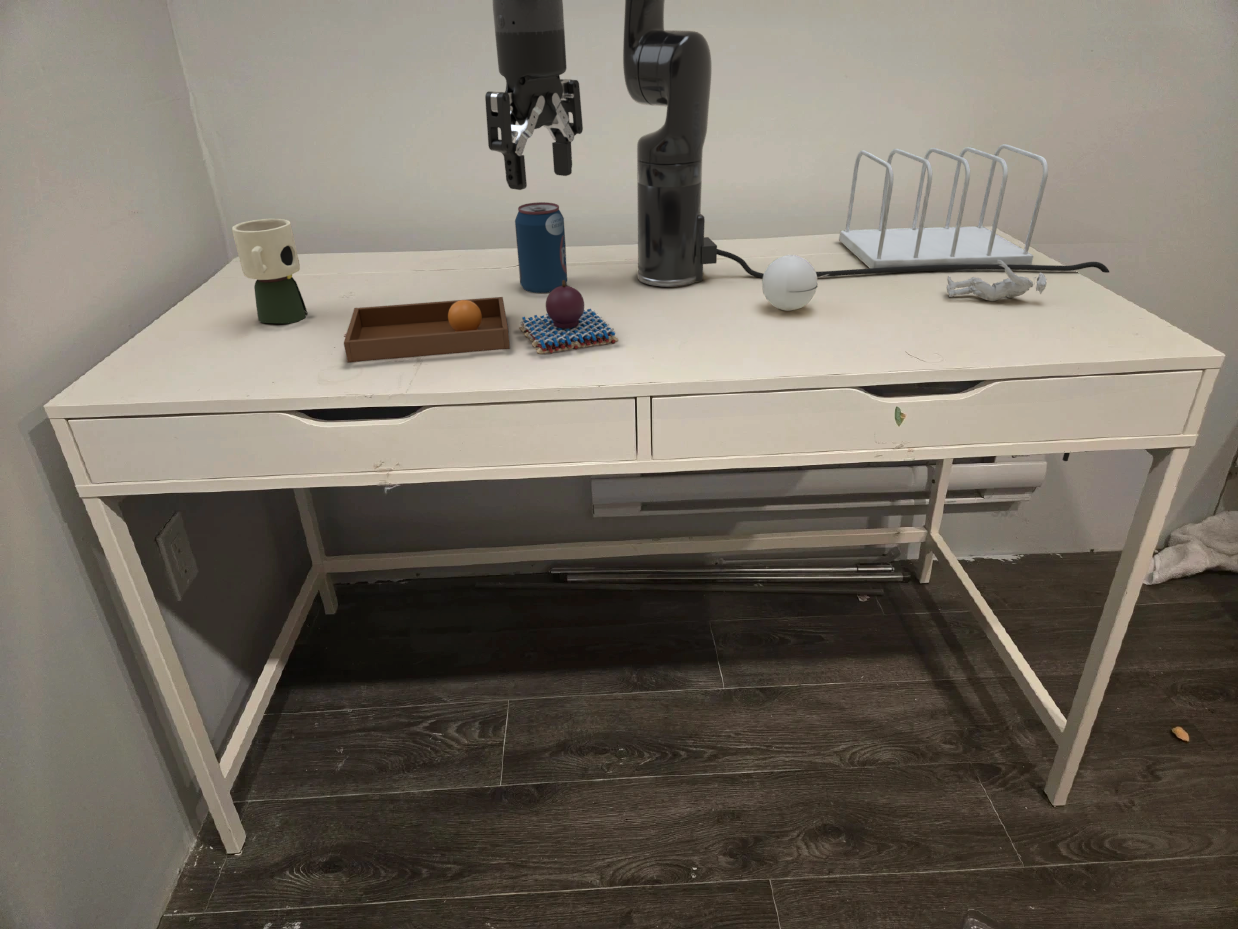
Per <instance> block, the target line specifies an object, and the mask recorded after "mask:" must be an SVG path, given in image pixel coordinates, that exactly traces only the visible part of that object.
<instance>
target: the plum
mask: <svg viewBox="0 0 1238 929" xmlns="http://www.w3.org/2000/svg"><path fill="white" fill-rule="evenodd" d="M545 310H546V314H548V315H549V317H550V318H551V319H552V320H553V325H554V326H555V327H558V328H572V327H575V326H577V325H578V324H579V319H580V317H581V316H582V314H583V312H584V310H585V300H584V296H583V295H582V294H581V292H580V291H579V290H578V289H577V288H575V287H573V286H570V285H567V283H565V280H563V281H562V286H559V287H557V288H555V289H553V290H552V291H551V292H550V293H548V295H547V297H546V300H545Z"/></svg>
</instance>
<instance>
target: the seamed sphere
mask: <svg viewBox="0 0 1238 929" xmlns="http://www.w3.org/2000/svg"><path fill="white" fill-rule="evenodd" d="M816 272H817V271H816V270H815V266H814V265H812V263H810V261H808V259H806V258H804V257H802V256H800V255H797V254H785V255H782V256H779V257H777V258H775V259H774V260H773V261H772V262H771V263H769V264H768V265H767V267H766V269H765V270H764V272H763V273H764V275H763V278H761V285H762V286H761V287H762V293H763V296H764V298H765V299H766V300H767V301H768V302H769V303H770V305H771V306H772V307H774V308H776V309H779V310H781V311H784V312H785V311H786V312H791V311H795V310H799V309H801V308H804V307H805V306H806V305H807V304H809V303H810V302H811V300H812V299H813V297H814V296H815V294H816V292H817V288H818V287H819V286H818V285H819V284H818V278H823V277H822V276H820V277H817V274H816ZM827 275H829V274H827ZM824 276H826V275H824Z"/></svg>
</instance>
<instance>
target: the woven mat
mask: <svg viewBox="0 0 1238 929" xmlns="http://www.w3.org/2000/svg"><path fill="white" fill-rule="evenodd" d="M521 319H522V320H521V321H520V322H519V325H520V326H522V327H519V328H518V329H519V330H520V331H521V332H522V335H524V337H526V338H527V339H529V340H530V342H531V346H532V347H534V351H536V353H537V354H539V355H541V354H542V355H543V354H552V353H555V352H562V351H569V350H573V349H574V350H577V349H580V348H588V347H592V346H594V347H595V346H599V345H606V344H615V343H617V342H618V341H619V338H618V337H617V336H616V332H615V331H614V330H615V329H614V328H612V327H609V326H610V324H609V323H607V321H606V320H604V319H603V317H602V316H599V315H598V313H597V312H596V311H595V310H594V309H593V310H592V308H588V309H586V310H585V309H584V312H583V314H582V316H581V317H580V319H579V324H578V325H577V326H575V327H572V328H558V327H555V326H554V325H553V320H552V319H551V318H550V317H549V315H548V313H546V314H545V315H540V316H539V317H538V315H537V314H534V315H533V316H531V317H530V316H529V317H528V319H527V318H526V316H522V318H521Z"/></svg>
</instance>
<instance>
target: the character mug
mask: <svg viewBox="0 0 1238 929" xmlns="http://www.w3.org/2000/svg"><path fill="white" fill-rule="evenodd" d="M231 232H232V236H233V239H234V244H235V247H236V251H237V255H238V256H237V257H238V259H239V263H240V268H241V270H242V274H243V276H244V277H246V278H247V279H249V280H255V282H254V297H255V307H256V314H257V320H258V321H259V323H263V324H282V325H283V324H286V325H287V324H288V325H289V324H293V323H297V322H300V321H302V320H304V319H306V317H307V316H306V315H308V314H309V313H308V309H307V306H306V304H305V300H304V298H303V296H302V293H301V291H300V288H299V286H298V283H297V281H296V280H295V278H294V277H293V274H296V273H298V272H299V271H300V270H301V264H300V259H299V255H298V251H297V247H296V246H297V245H296V242H295V237H294V232H293V229H292V223H291V221H290V220H288V219H284V218H261V219H253V220H247V221H243V222H240V223H236V224H235V225H233V226H232V228H231Z"/></svg>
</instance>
